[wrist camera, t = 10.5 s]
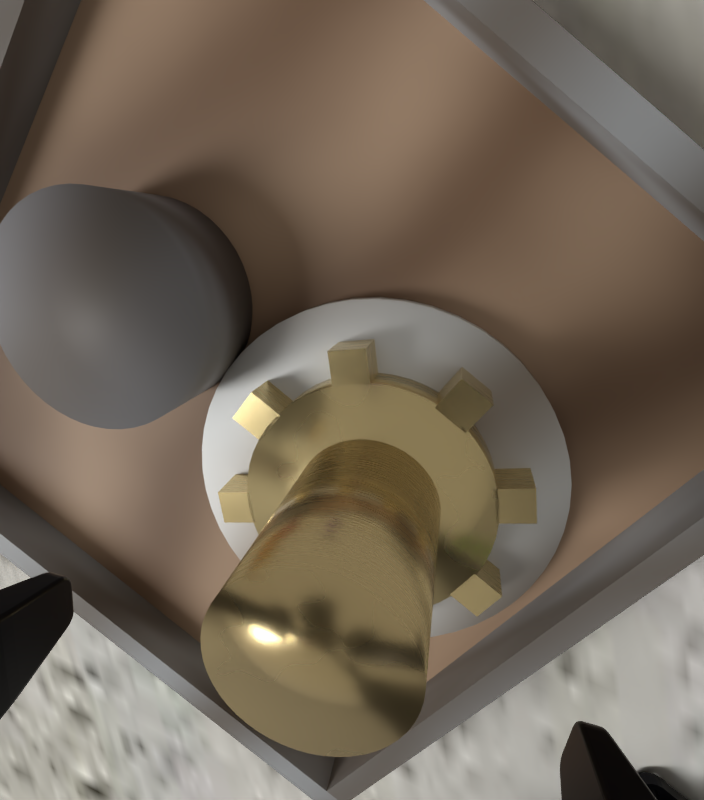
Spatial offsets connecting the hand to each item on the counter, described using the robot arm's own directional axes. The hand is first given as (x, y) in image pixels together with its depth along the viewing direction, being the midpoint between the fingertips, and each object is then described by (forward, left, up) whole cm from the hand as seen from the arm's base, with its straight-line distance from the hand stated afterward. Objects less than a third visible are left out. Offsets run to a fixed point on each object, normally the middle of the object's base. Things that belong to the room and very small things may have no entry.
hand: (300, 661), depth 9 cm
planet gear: (0, 0, -7) cm, 7 cm away
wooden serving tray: (+4, 0, -9) cm, 10 cm away
